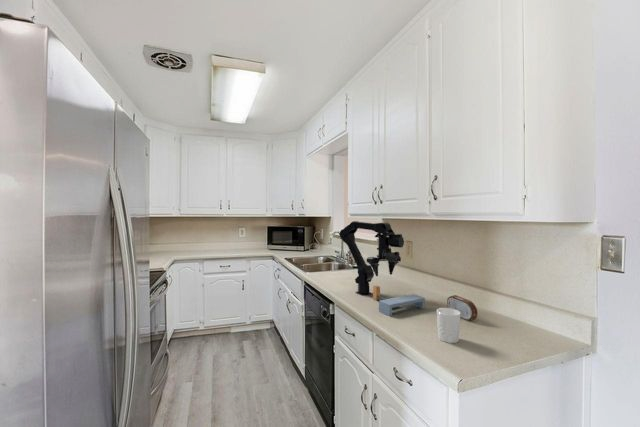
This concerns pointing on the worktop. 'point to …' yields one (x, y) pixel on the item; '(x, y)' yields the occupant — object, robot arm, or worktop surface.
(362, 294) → the robot arm
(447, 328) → the white cup
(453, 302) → the tin
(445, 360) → the worktop surface
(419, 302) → the bench
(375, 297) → the hook tool
